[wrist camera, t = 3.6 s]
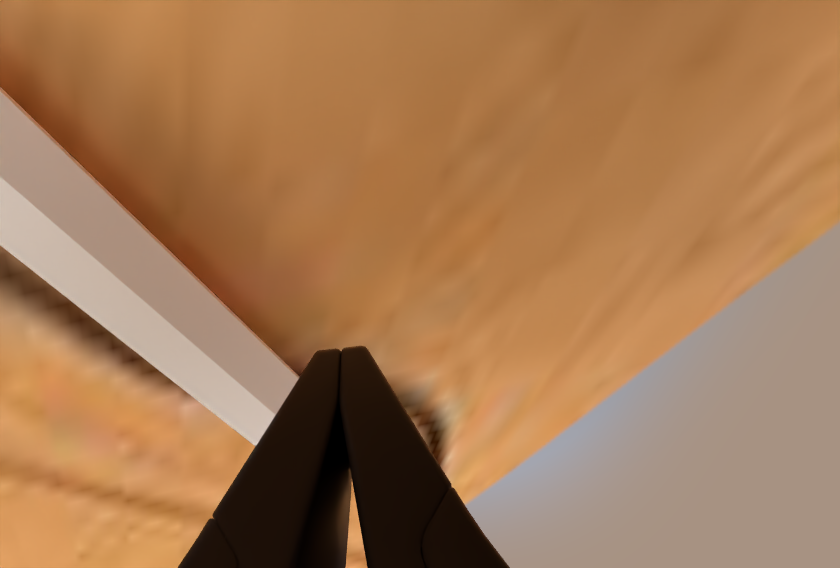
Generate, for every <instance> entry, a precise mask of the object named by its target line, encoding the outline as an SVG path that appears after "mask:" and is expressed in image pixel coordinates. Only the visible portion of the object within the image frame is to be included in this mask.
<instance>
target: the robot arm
mask: <svg viewBox="0 0 840 568" xmlns="http://www.w3.org/2000/svg"><path fill="white" fill-rule="evenodd" d="M352 481H353V487H354V493H355V498H356V504H357V510H358V516H359V521H360V527H361V533H362V538H363V544H364V550H365V555H366V561H367V567H368V568H510V567H509V566H508V565H507V564H506V562H505V561H504V560H503V558H502V557H501V556H500V554H499V553H498V552H497V551H496V549H495V548H494V547H493V545H492V544H491V543H490V541H489V540H488V539H487V538H486V536H485V535H484V533H483V532H482V530H481V529H480V527H479V526H478V524H477V523H476V522H475V520H474V518H473V517H472V516H471V514H470V513H469V511H468V510H467V508H466V507H465V505H464V503H463V502H462V500H461V499H460V497H459V495H458V494H457V492H456V490H455V489H454V488H451V483H450V481H449V480H448V478H447V476H446V475H445V473H444V472H443V470H442V468H441V467H440V465H439V464H438V462H437V460H436V459H435V457H434V456H433V454H432V452H431V451H430V449H429V447H428V446H427V444H426V443H425V441H424V439H423V438H422V436H421V435H420V433H419V431H418V430H417V428H416V427H415V425H414V423H413V422H412V420H411V418H410V417H409V415H408V414H407V412H406V410H405V409H404V407H403V406H402V404H401V402H400V401H399V399H398V398H397V396H396V394H395V393H394V391H393V389H392V388H391V386H390V385H389V383H388V381H387V380H386V378H385V377H384V375H383V373H382V372H381V370H380V369H379V367H378V365H377V364H376V362H375V360H374V359H373V357H372V356H371V354H370V352H369V351H368V349H367V348H366V347H364V346H356V347H347V348H343V349H342V351H340V350H339V349H328V350H319V351H317V352H316V353H315V354H314V355H313V357H312V358H311V360H310V362H309V363H308V365H307V366H306V368H305V369H304V371H303V373H302V374H301V376H300V377H299V379H298V381H297V382H296V384H295V385H294V387H293V388H292V390H291V392H290V393H289V395H288V396H287V398H286V399H285V401H284V403H283V404H282V406H281V407H280V409H279V410H278V412H277V414H276V415H275V417H274V418H273V420H272V421H271V423H270V425H269V426H268V428H267V429H266V431H265V433H264V434H263V436H262V437H261V439H260V440H259V442H258V444H257V445H256V447H255V448H254V450H253V451H252V453H251V455H250V456H249V458H248V459H247V461H246V462H245V464H244V466H243V467H242V469H241V470H240V472H239V473H238V475H237V477H236V478H235V480H234V481H233V483H232V485H231V486H230V488H229V489H228V491H227V492H226V494H225V496H224V497H223V499H222V500H221V502H220V503H219V505H218V507H217V508H216V510H215V511H214V513H213V518H214V519H209V520H208V522H207V523H206V525H205V527H204V528H203V530H202V531H201V533H200V535H199V536H198V538H197V539H196V541H195V542H194V544H193V545H192V547H191V548H190V550H189V551H188V553H187V554H186V556H185V557H184V559H183V560H182V562H181V563H180V565H179V566H178V568H345V567H346V553H347V539H348V526H349V512H350V499H351V482H352Z"/></svg>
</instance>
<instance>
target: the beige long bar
mask: <svg viewBox="0 0 840 568" xmlns="http://www.w3.org/2000/svg"><path fill="white" fill-rule="evenodd" d="M0 245H1V246H2V247H3V248H4V249H6V250H7V251H8V252H9V253H11V254H12V255H13V256H15V257H16V258H17V259H18V260H20V261H21V262H22V263H23V264H25V265H26V266H27V267H29V268H30V269H31V270H32V271H34V272H35V273H36V274H37V275H39V276H40V277H41V278H42V279H44V280H45V281H46V282H48V283H49V284H50V285H51V286H53V287H54V288H55V289H56V290H58V291H59V292H60V293H61V294H63V295H64V296H65V297H67V298H68V299H69V300H70V301H72V302H73V303H74V304H75V305H77V306H78V307H79V308H81V309H82V310H83V311H84V312H86V313H87V314H88V315H89V316H91V317H92V318H93V319H94V320H96V321H97V322H98V323H100V324H101V325H102V326H103V327H105V328H106V329H107V330H108V331H110V332H111V333H112V334H113V335H115V336H116V337H117V338H119V339H120V340H121V341H122V342H124V343H125V344H126V345H127V346H129V347H130V348H131V349H133V350H134V351H135V352H136V353H138V354H139V355H140V356H141V357H143V358H144V359H145V360H146V361H148V362H149V363H150V364H152V365H153V366H154V367H155V368H157V369H158V370H159V371H160V372H162V373H163V374H164V375H166V376H167V377H168V378H169V379H171V380H172V381H173V382H174V383H176V384H177V385H178V386H179V387H181V388H182V389H183V390H185V391H186V392H187V393H188V394H190V395H191V396H192V397H193V398H195V399H196V400H197V401H198V402H200V403H201V404H202V405H204V406H205V407H206V408H207V409H209V410H210V411H211V412H212V413H214V414H215V415H216V416H218V417H219V418H220V419H221V420H223V421H224V422H225V423H226V424H228V425H229V426H230V427H231V428H233V429H234V430H235V431H237V432H238V433H239V434H240V435H242V436H243V437H244V438H245V439H247V440H248V441H249V442H250V443H252V444H253V445H254V446H256V445H257V444H258V442H259V440H260V439H261V437H262V436H263V434H264V433H265V431H266V429H267V428H268V426H269V425H270V423H271V421H272V420H273V418H274V417H275V415H276V414H277V412H278V410H279V409H280V407H281V406H282V404H283V403H284V401H285V399H286V398H287V396H288V395H289V393H290V392H291V390H292V388H293V387H294V385H295V384H296V382H297V381H298V379H299V376H298V375H297V374H296V373H295V372H294V371H293V370H292V369H291V368H290V367H289V366H288V365H287V364H286V363H285V362H284V361H283V360H282V359H281V358H280V357H279V356H278V355H277V354H276V353H275V352H274V351H273V350H272V349H271V348H270V347H269V346H267V345H266V344H265V343H264V342H263V341H262V340H261V339H260V338H259V337H258V336H257V335H256V334H255V333H254V332H253V331H252V330H251V329H250V328H249V327H248V326H247V325H246V324H245V323H244V322H243V321H242V320H241V319H240V318H239V317H238V316H237V315H235V314H234V313H233V312H232V311H231V310H230V309H229V308H228V307H227V306H226V305H225V304H224V303H223V302H222V301H221V300H220V299H219V298H218V297H217V296H216V295H215V294H214V293H213V292H212V291H211V290H210V289H209V288H208V287H207V286H206V285H205V284H203V283H202V282H201V281H200V280H199V279H198V278H197V277H196V276H195V275H194V274H193V273H192V272H191V271H190V270H189V269H188V268H187V267H186V266H185V265H184V264H183V263H182V262H181V261H180V260H179V259H178V258H177V257H176V256H175V255H174V254H173V253H171V252H170V251H169V250H168V249H167V248H166V247H165V246H164V245H163V244H162V243H161V242H160V241H159V240H158V239H157V238H156V237H155V236H154V235H153V234H152V233H151V232H150V231H149V230H148V229H147V228H146V227H145V226H144V225H143V224H142V223H141V222H139V221H138V220H137V219H136V218H135V217H134V216H133V215H132V214H131V213H130V212H129V211H128V210H127V209H126V208H125V207H124V206H123V205H122V204H121V203H120V202H119V201H118V200H117V199H116V198H115V197H114V196H113V195H112V194H111V193H110V192H109V191H107V190H106V189H105V188H104V187H103V186H102V185H101V184H100V183H99V182H98V181H97V180H96V179H95V178H94V177H93V176H92V175H91V174H90V173H89V172H88V171H87V170H86V169H85V168H84V167H83V166H82V165H81V164H80V163H79V162H78V161H77V160H75V159H74V158H73V157H72V156H71V155H70V154H69V153H68V152H67V151H66V150H65V149H64V148H63V147H62V146H61V145H60V144H59V143H58V142H57V141H56V140H55V139H54V138H53V137H52V136H51V135H50V134H49V133H48V132H47V131H46V130H45V129H43V128H42V127H41V126H40V125H39V124H38V123H37V122H36V121H35V120H34V119H33V118H32V117H31V116H30V115H29V114H28V113H27V112H26V111H25V110H24V109H23V108H22V107H21V106H20V105H19V104H18V103H17V102H16V101H15V100H14V99H13V98H11V97H10V96H9V95H8V94H7V93H6V92H5V91H4V90H3V89H2V88H1V87H0Z"/></svg>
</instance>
